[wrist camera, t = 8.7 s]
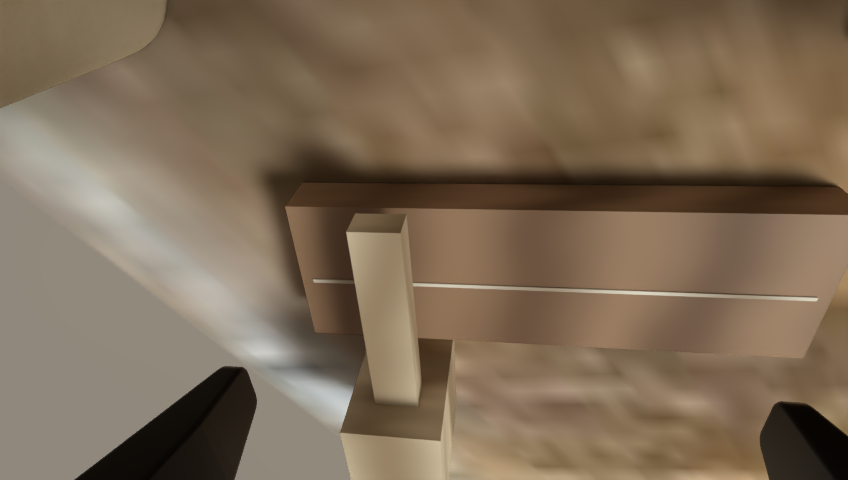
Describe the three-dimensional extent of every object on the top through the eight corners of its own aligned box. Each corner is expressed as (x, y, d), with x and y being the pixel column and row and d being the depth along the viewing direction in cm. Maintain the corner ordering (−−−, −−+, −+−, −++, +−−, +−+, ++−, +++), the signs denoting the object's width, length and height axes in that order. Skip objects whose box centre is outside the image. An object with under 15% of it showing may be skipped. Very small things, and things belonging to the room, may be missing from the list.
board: (839, 186, 18) (873, 216, 16) (780, 323, 22) (803, 359, 20) (302, 182, 21) (284, 207, 19) (327, 303, 25) (314, 333, 23)
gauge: (447, 171, 20) (428, 261, 15) (456, 403, 27) (445, 514, 22) (348, 171, 20) (298, 257, 16) (383, 398, 28) (357, 505, 23)
